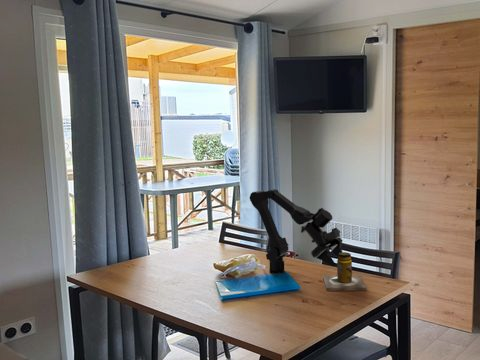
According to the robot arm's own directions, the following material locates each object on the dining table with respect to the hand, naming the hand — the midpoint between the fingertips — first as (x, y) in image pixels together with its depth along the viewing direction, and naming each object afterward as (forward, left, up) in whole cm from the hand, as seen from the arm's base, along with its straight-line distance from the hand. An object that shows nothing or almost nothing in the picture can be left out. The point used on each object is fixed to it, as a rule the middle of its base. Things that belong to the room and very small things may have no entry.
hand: (339, 262), depth 202 cm
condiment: (+1, -1, -8) cm, 8 cm away
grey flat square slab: (+1, -1, -9) cm, 9 cm away
